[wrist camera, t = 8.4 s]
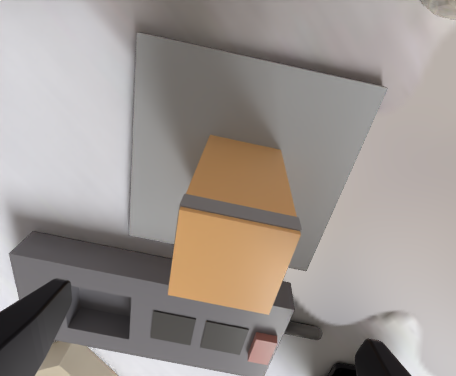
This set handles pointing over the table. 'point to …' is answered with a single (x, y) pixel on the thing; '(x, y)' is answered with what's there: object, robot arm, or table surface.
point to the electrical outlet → (73, 362)
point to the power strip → (150, 308)
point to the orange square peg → (235, 228)
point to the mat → (241, 130)
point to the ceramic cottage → (441, 7)
